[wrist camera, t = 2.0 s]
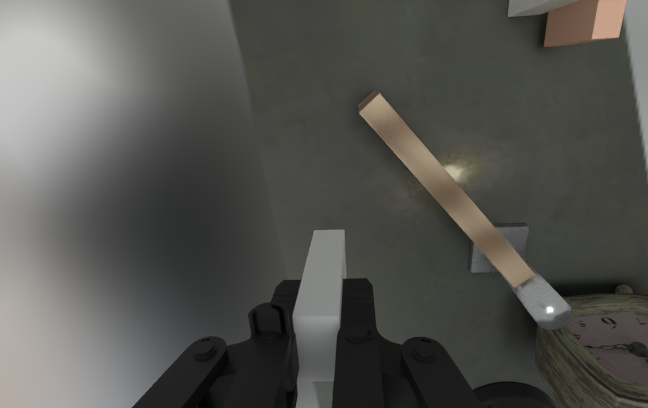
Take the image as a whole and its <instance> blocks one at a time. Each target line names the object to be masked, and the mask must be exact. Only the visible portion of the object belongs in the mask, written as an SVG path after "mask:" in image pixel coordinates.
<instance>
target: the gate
mask: <svg viewBox="0 0 648 408" xmlns="http://www.w3.org/2000/svg"><path fill="white" fill-rule="evenodd" d="M358 110H359V113H360V115H361V116H362V117H363V118H364V119H365V120H366V121H367V122H368V124H369V125H370V126H371V127H372V128H373V129H374V130H375V131H376V133H377V134H378V135H379V136H380V137H381V138H382V139H383V140H384V142H385V143H386V144H387V145H388V146H389V147H390V148H391V149H392V151H393V152H394V153H395V154H396V155H397V156H398V157H399V158H400V160H401V161H402V162H403V163H404V164H405V165H406V166H407V168H408V169H409V170H410V171H411V172H412V173H413V174H414V175H415V177H416V178H417V179H418V180H419V181H420V182H421V183H422V184H423V186H424V187H425V188H426V189H427V190H428V191H429V192H430V193H431V195H432V196H433V197H434V198H435V199H436V200H437V201H438V202H439V204H440V205H441V206H442V207H443V208H444V209H445V210H446V211H447V213H448V214H449V215H450V216H451V217H452V218H453V219H454V221H455V222H456V223H457V224H458V225H459V226H460V227H461V228H462V230H463V231H464V232H465V233H466V234H467V235H468V236H469V237H470V239H471V240H472V241H473V242H474V243H475V244H476V245H477V246H478V248H479V249H480V250H481V251H482V252H483V253H484V254H485V255H486V257H487V258H488V259H489V260H490V261H491V262H492V263H493V264H494V266H495V267H496V268H497V269H498V270H499V271H500V272H501V274H502V275H503V276H504V277H505V278H506V279H507V280H508V281H509V283H510V284H511V285H512V286H513V287H514V288H515V287H516V286H518V285H519V284H521V283H523V282H524V281H526V280H527V279H529V278H531V277H532V276H534V275H535V274H534V273H533V272H532V270H531V269H530V268H529V267H528V266H527V265H526V263H525V262H524V261H523V260H522V259H521V258H520V256H519V255H518V254H517V253H516V252H515V251H514V249H513V248H512V247H511V246H510V245H509V244H508V242H507V241H506V240H505V239H504V238H503V237H502V235H501V234H500V233H499V232H498V231H497V230H496V228H495V227H494V226H493V225H492V224H491V223H490V221H489V220H488V219H487V218H486V217H485V216H484V214H483V213H482V212H481V211H480V210H479V209H478V207H477V206H476V205H475V204H474V203H473V202H472V200H471V199H470V198H469V197H468V196H467V195H466V193H465V192H464V191H463V190H462V189H461V188H460V186H459V185H458V184H457V183H456V182H455V181H454V179H453V178H452V177H451V176H450V175H449V174H448V172H447V171H446V170H445V169H444V168H443V167H442V165H441V164H440V163H439V162H438V161H437V160H436V158H435V157H434V156H433V155H432V154H431V153H430V151H429V150H428V149H427V148H426V147H425V146H424V144H423V143H422V142H421V141H420V140H419V139H418V138H417V136H416V135H415V134H414V133H413V132H412V131H411V129H410V128H409V127H408V126H407V125H406V124H405V122H404V121H403V120H402V119H401V118H400V117H399V115H398V114H397V113H396V112H395V111H394V110H393V108H392V107H391V106H390V105H389V104H388V103H387V101H386V100H385V99H384V98H383V97H382V96H381V94H380V93H378V92H377V91H375V90H373V91H372V92H371V93H370V94H369V95H368V96H367V97H366V98H365V99H364V100H363V101H361V102H360V103H359V104H358Z"/></svg>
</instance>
